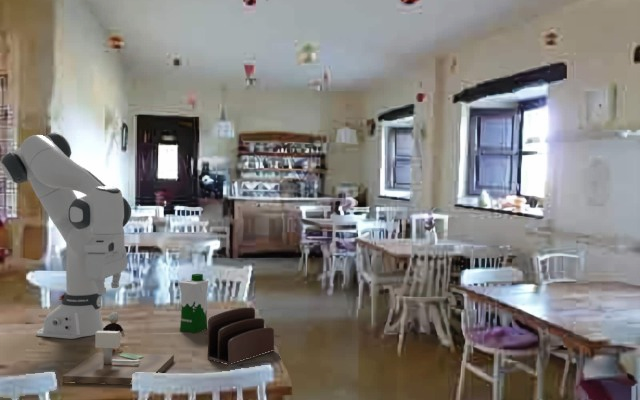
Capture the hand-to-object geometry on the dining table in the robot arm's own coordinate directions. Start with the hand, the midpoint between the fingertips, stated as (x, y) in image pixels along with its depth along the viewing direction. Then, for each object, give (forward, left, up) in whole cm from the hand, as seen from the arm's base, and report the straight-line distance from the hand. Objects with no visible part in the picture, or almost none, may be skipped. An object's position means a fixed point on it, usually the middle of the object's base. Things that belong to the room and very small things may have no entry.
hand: (108, 291), depth 179 cm
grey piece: (+3, 0, -21) cm, 21 cm away
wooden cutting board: (+4, 0, -23) cm, 24 cm away
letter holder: (+35, +19, -24) cm, 46 cm away
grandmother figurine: (-6, +19, -24) cm, 31 cm away
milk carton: (+12, +48, -24) cm, 54 cm away
